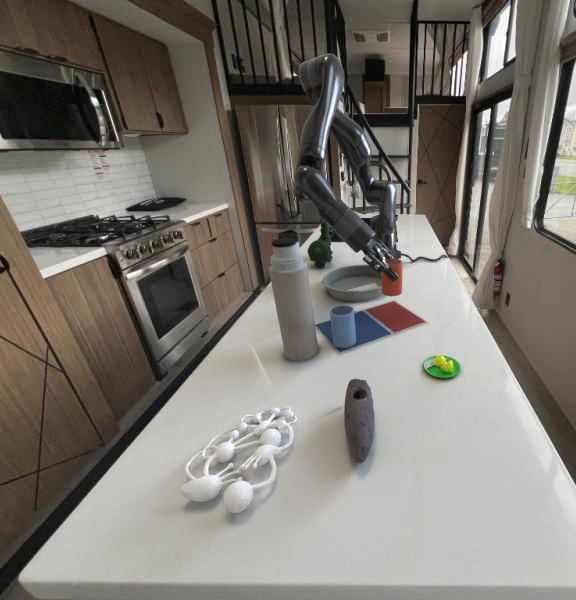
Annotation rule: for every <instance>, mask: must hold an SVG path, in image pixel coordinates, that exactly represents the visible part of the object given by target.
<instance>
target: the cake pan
mask: <svg viewBox="0 0 576 600" xmlns="http://www.w3.org/2000/svg"><path fill="white" fill-rule="evenodd" d="M322 277H323V278H322V284H323V285H324V287H326V288H327V291H328V293H329V295H330V296H332V297H333V298H336V299H338V300H343V301H350V302H361V301H370V300H374V299H377V298H380V297H382V296H384V295H383V294H382V287H381V273H380V274H378V273H377V272H376V271H375V270H374V269H373V268H371V267H370V266H369V265H368V264H355V265H353V264H352V265H347V266H342V267H339V268H336V269H333V270H331V271H329V272H327V273H326V274H325V275H323V276H322ZM372 284H375V285H376V287H372V288H367V289H361V290H358V289H357V288H360V287H364V286H368V285H372ZM354 289H357V290H354Z"/></svg>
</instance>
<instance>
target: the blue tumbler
mask: <svg viewBox="0 0 576 600" xmlns="http://www.w3.org/2000/svg"><path fill="white" fill-rule="evenodd" d="M354 313H355V309H354V307H353V306H351V305H347V304H341V305H335V306H334V307H332V308H331V309H330V310H329V316H330V320H331V327H332V336H333V344H334V345H335V346H336V347H338V348H348V347H351V346H353V345H354V344H355V343H356V332H355V318H354ZM333 344H332V345H333ZM334 345H333V346H334ZM335 346H334V347H335ZM336 347H335V348H336Z"/></svg>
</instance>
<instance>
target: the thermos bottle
mask: <svg viewBox="0 0 576 600" xmlns="http://www.w3.org/2000/svg"><path fill="white" fill-rule="evenodd" d="M271 246H272V251H273V254H272V255H271V256H270V258H269V259H270V261H269V262H270V264H271V265H270V266H269V267H268V273H269V277H270V283H271V288H272V294H273V300H274V304H275V310H276V314H277V318H278V319H277V321H278V324H279V330H280V336H281V342H282V346H283V352H284V356H285V358H287V359H288V360H291V361H304V360H308V359H310V358H312V357H314V356H315V355H317V353H318V351H319V345H318V344H319V343H318V337H317V331H316V330H317V329H316V323H315V315H314V307H313V301H312V293H311V285H310V277H309V271H308V264H307V262H306V261H304V256H303V253H302V252H301V251H300V252H298V251H297V246H296V239H293V238H281V239H279V238H276V239H274V240H272V241H271Z"/></svg>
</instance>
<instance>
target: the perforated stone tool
mask: <svg viewBox="0 0 576 600" xmlns="http://www.w3.org/2000/svg"><path fill="white" fill-rule="evenodd" d="M345 392H346V393H345V397H344V409H343V420H344V422H343V423H344V430H345V436H346V437H345V438H346V441H347V446H348V449H349V452H350V454H351V456H352V458H353V460H355V462H356V463H357V464H359V465H361V464H363V463H364V462H365V461H366V459H367V458H368V456H369V454H370V451H371V448H372V446H373V440H374V435H375V409H374V398H373V394H372V390H371V386H370V385H369V383H368V382H367V380H366V379H360V378H353V379H349V381H348V383H347V386H346V389H345Z"/></svg>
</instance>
